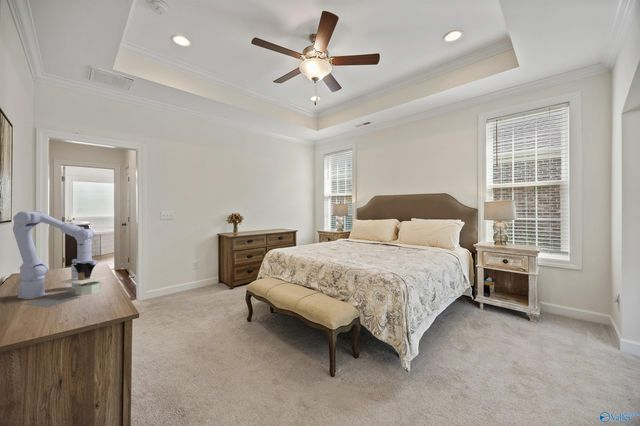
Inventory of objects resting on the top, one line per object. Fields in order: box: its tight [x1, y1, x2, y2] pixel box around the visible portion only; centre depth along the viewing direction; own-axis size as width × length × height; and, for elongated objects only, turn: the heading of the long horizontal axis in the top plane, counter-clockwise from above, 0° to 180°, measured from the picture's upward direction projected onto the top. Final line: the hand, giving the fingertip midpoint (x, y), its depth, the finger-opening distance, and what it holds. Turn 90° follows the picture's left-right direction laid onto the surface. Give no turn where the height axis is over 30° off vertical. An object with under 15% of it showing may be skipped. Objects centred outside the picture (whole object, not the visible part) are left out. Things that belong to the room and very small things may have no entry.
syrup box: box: [70, 263, 78, 290], centre depth 148 cm, size 6×6×14 cm
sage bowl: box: [74, 280, 102, 296], centre depth 141 cm, size 10×10×5 cm
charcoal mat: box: [23, 294, 81, 308], centre depth 128 cm, size 16×14×1 cm
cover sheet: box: [59, 272, 107, 284], centre depth 139 cm, size 13×13×4 cm
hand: (84, 277), depth 140 cm, fingers closed on cover sheet, 3 cm apart
